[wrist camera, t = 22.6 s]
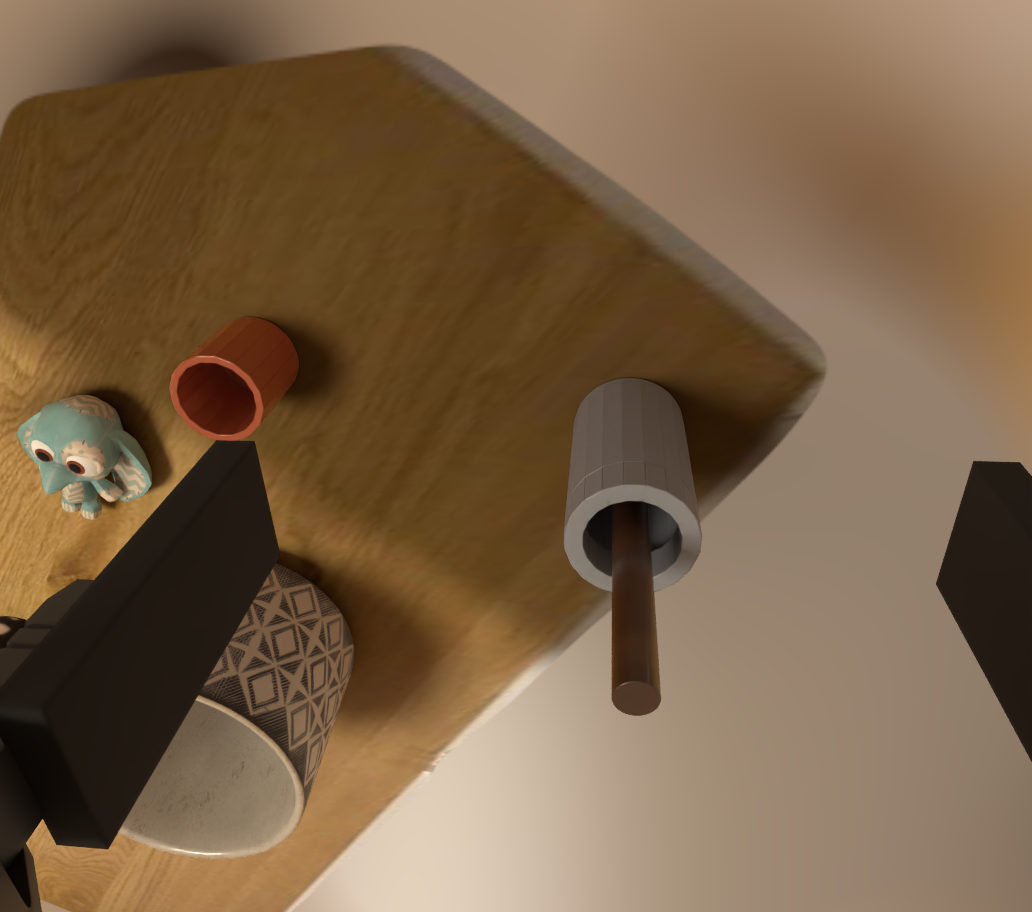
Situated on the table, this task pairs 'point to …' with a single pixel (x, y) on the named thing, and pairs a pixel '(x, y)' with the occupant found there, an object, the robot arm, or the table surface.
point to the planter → (252, 730)
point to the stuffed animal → (85, 454)
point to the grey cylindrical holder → (631, 480)
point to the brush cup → (234, 379)
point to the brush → (633, 612)
